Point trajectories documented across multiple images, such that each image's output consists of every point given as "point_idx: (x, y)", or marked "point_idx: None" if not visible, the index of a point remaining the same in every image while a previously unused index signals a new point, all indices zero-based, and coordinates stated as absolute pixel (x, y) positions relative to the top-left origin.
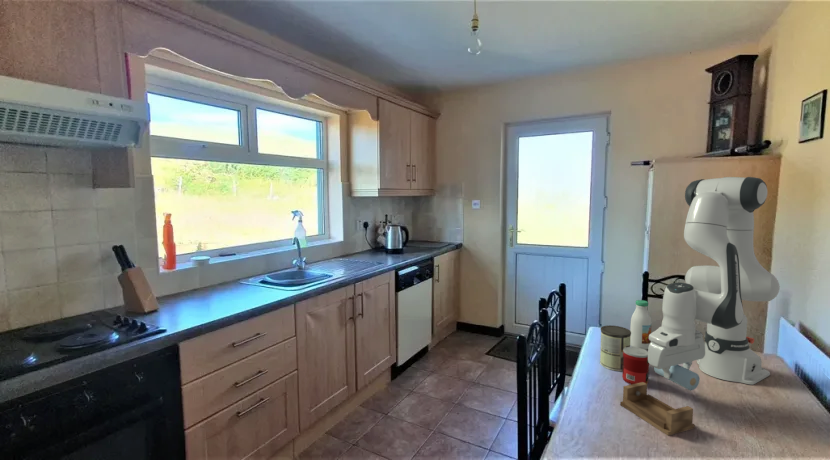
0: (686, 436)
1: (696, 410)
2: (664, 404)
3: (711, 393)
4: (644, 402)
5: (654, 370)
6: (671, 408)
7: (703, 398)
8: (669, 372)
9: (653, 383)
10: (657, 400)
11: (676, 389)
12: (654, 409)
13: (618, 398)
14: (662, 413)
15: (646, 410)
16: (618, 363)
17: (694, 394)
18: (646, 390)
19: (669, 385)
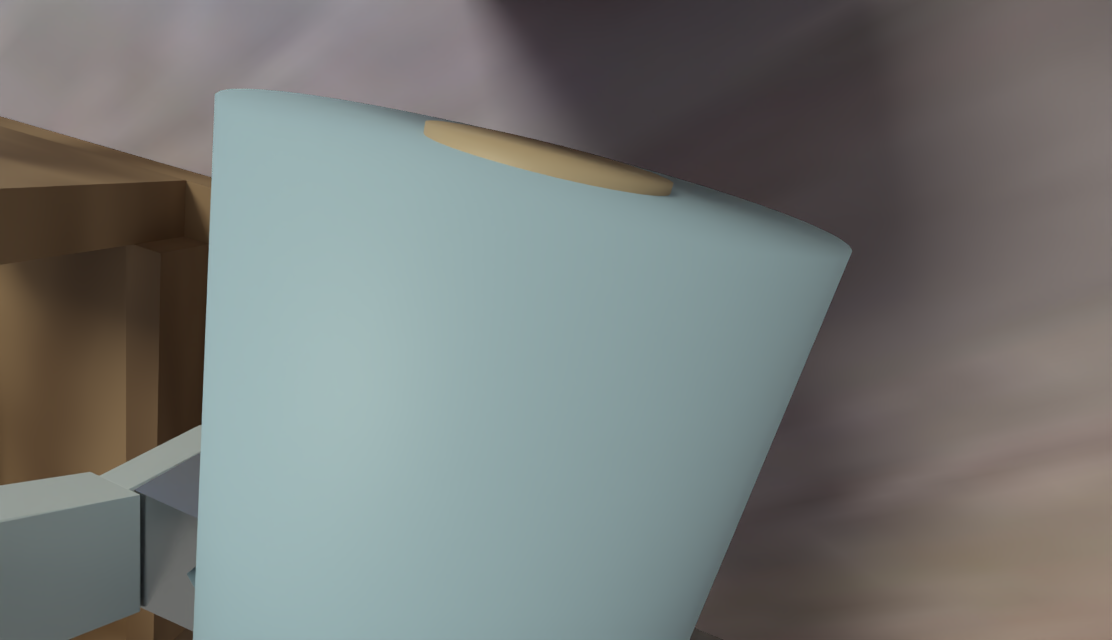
0: None
1: None
2: (136, 454)
3: (1107, 633)
4: (114, 257)
5: (385, 109)
6: None
7: (844, 591)
8: (62, 625)
9: (757, 6)
10: (136, 379)
11: (835, 307)
12: (102, 376)
13: (22, 5)
14: (109, 448)
15: (27, 339)
16: None
17: (874, 500)
18: (67, 250)
19: (897, 190)
